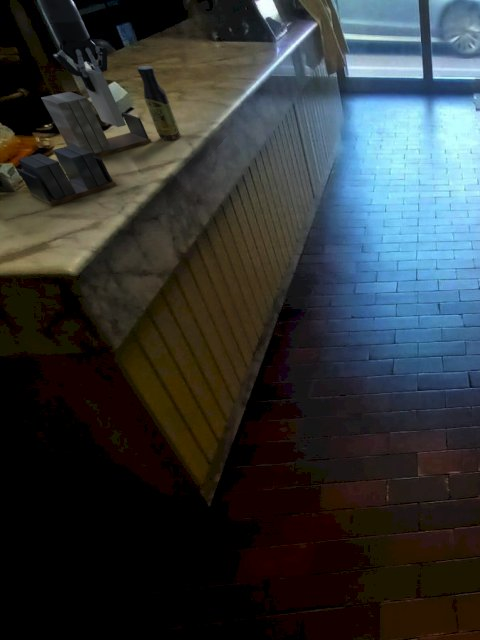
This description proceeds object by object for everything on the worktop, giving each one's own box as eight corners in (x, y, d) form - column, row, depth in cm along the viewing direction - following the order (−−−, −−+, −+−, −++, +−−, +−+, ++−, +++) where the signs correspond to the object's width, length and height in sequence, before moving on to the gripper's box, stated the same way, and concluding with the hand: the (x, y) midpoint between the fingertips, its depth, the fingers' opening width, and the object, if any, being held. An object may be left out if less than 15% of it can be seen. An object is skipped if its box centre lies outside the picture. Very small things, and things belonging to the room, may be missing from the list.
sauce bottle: (155, 139, 163) (125, 68, 149) (170, 133, 168) (142, 63, 154) (172, 142, 162) (143, 70, 148) (187, 136, 166) (160, 66, 153)
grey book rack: (52, 206, 128) (30, 170, 122) (31, 196, 132) (9, 160, 126) (116, 185, 138) (99, 151, 132) (95, 176, 142) (78, 142, 136)
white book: (118, 127, 153) (93, 74, 143) (101, 121, 156) (76, 68, 146) (126, 125, 154) (102, 72, 145) (109, 119, 158) (85, 67, 148)
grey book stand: (85, 161, 149) (55, 104, 138) (67, 153, 152) (36, 97, 142) (151, 142, 161) (128, 89, 151) (133, 135, 165) (109, 83, 155)
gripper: (84, 13, 143) (115, 83, 155) (28, 19, 134) (65, 93, 146) (99, 17, 140) (129, 87, 152) (43, 23, 131) (80, 98, 143)
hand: (98, 89), depth 149 cm, fingers closed on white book, 2 cm apart
